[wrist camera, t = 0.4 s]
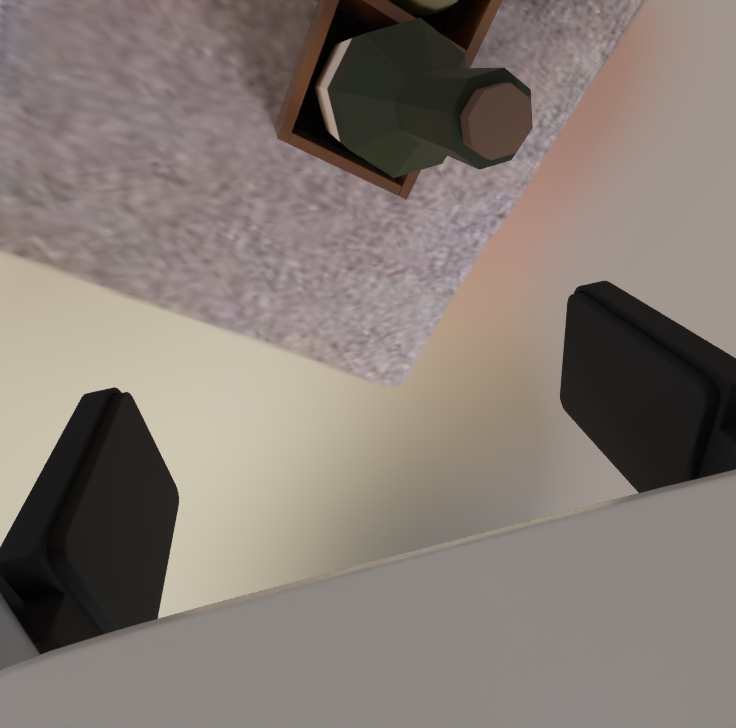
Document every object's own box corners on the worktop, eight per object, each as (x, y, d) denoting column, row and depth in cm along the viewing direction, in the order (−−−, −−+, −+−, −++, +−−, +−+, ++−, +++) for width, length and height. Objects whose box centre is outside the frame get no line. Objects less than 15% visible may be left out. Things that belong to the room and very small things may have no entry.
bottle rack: (381, -178, 35) (410, -238, 28) (505, -81, 39) (556, -113, 32) (274, 127, 43) (277, 138, 36) (385, 181, 47) (406, 199, 40)
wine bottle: (367, 11, 40) (555, -95, 15) (421, 104, 44) (640, 146, 19) (289, 81, 42) (337, 95, 16) (348, 165, 46) (460, 280, 20)
